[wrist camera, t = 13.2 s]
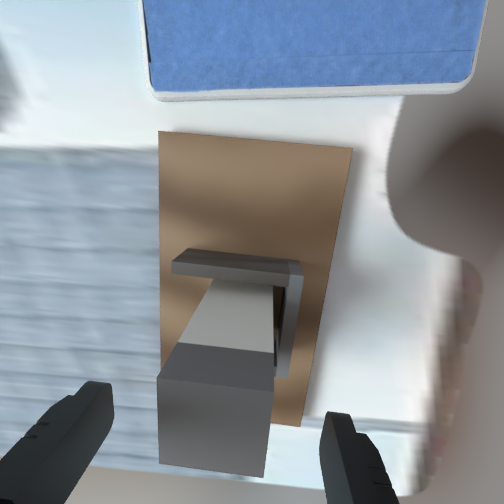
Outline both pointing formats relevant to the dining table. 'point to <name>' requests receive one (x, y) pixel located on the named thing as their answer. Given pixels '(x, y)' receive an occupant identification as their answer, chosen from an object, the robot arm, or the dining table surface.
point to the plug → (220, 383)
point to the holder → (251, 239)
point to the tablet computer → (308, 47)
